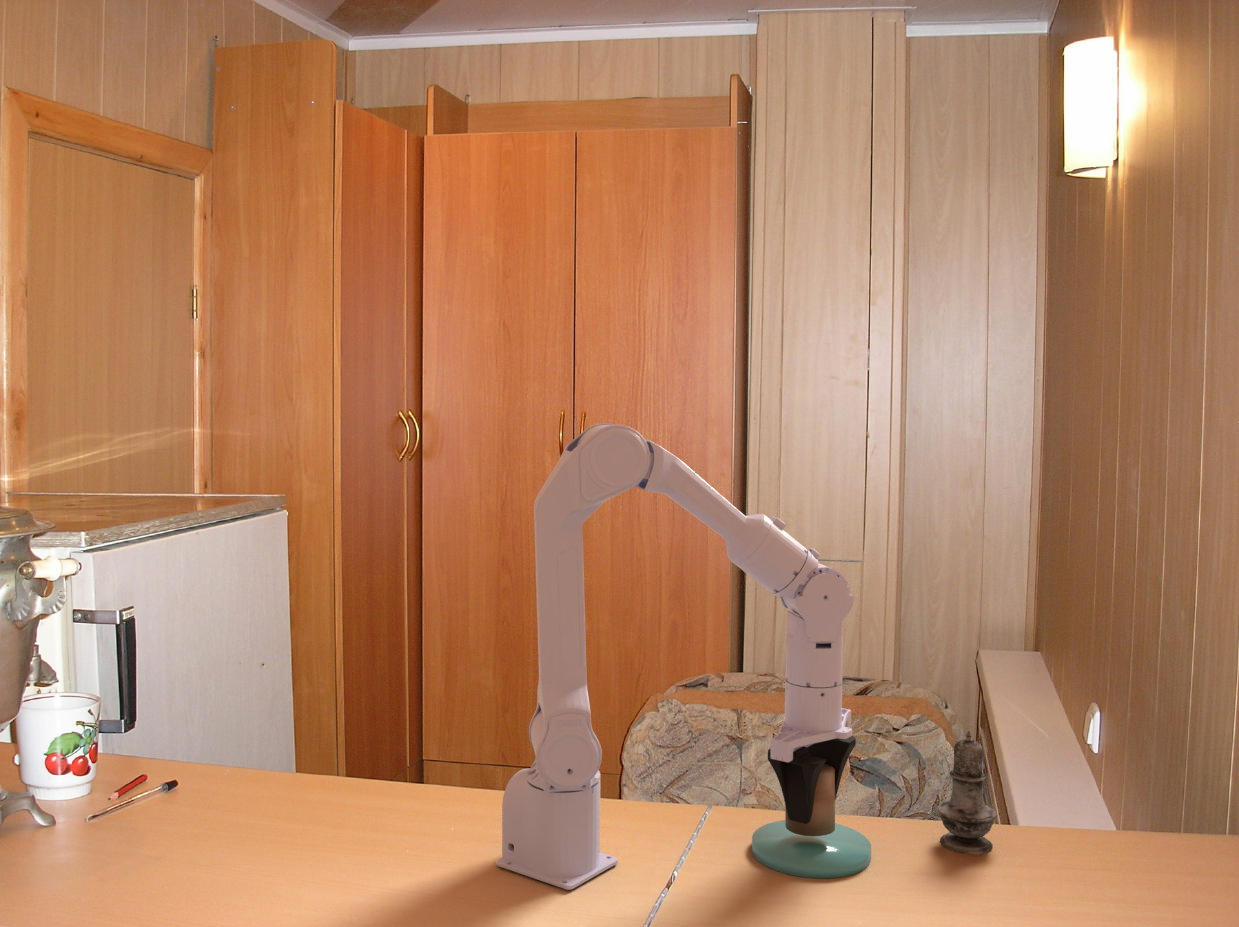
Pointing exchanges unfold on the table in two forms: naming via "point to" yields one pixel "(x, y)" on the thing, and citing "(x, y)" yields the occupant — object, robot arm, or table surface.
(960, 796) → the salt shaker
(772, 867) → the teal rounded disc
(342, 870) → the table surface
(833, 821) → the walnut cylinder
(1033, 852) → the table surface
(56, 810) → the table surface
